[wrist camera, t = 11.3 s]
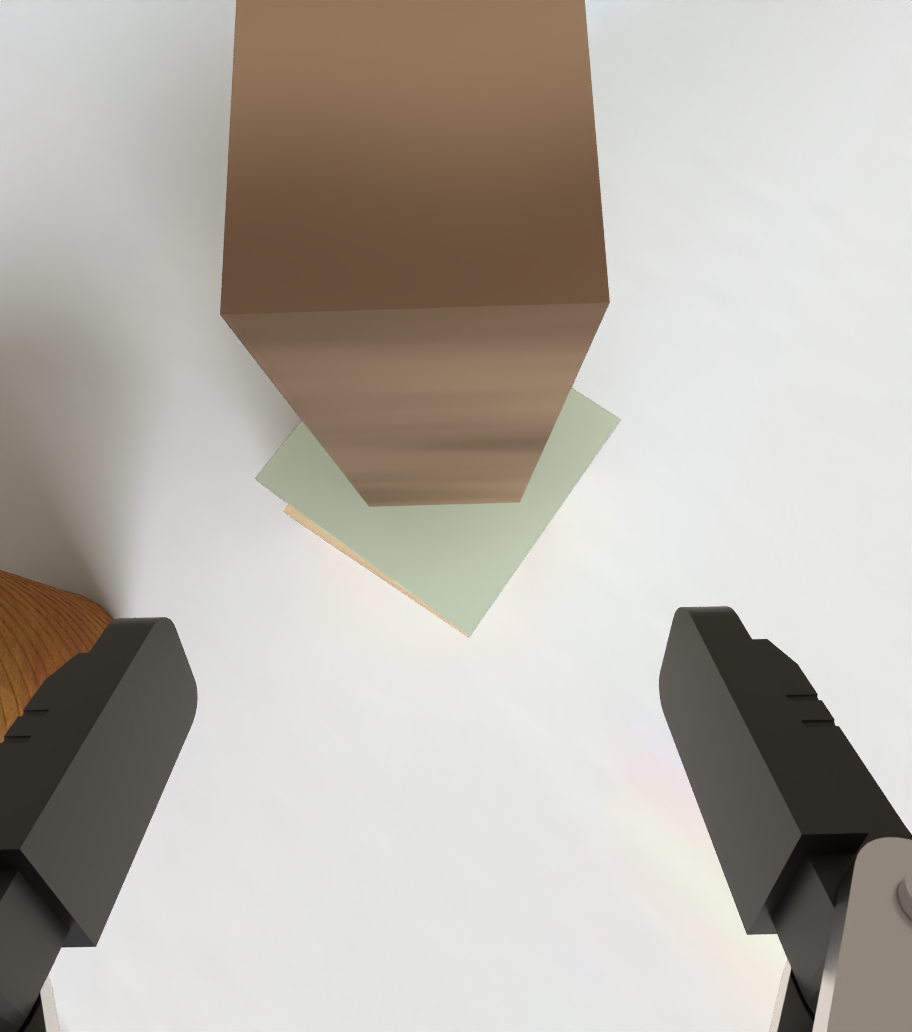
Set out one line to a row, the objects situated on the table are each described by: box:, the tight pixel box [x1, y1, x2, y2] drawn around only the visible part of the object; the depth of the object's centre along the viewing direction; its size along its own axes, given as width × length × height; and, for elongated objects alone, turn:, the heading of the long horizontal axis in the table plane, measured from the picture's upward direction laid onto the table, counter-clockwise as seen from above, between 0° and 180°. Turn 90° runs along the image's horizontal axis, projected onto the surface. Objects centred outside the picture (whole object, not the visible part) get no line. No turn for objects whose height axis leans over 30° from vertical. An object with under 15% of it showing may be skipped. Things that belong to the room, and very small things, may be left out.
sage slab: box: [255, 387, 621, 636], centre depth 20 cm, size 8×8×4 cm
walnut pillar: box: [220, 0, 610, 507], centre depth 13 cm, size 4×4×11 cm
